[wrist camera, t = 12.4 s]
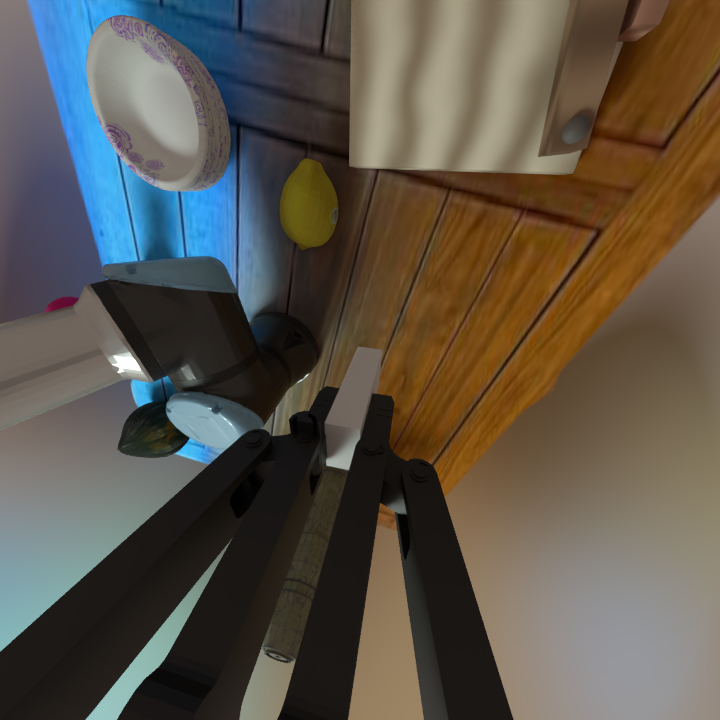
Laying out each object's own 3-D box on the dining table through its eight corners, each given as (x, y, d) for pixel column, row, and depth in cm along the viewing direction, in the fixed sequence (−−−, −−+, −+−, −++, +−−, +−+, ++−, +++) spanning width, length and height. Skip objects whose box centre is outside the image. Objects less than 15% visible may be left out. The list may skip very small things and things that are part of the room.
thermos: (353, 488, 75) (307, 674, 46) (313, 474, 75) (244, 650, 46) (361, 470, 70) (316, 666, 41) (318, 456, 70) (244, 639, 41)
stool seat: (353, 167, 36) (343, 163, 31) (357, -23, 27) (344, -67, 23) (572, 174, 32) (597, 171, 27) (657, -47, 23) (714, -106, 19)
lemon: (331, 255, 43) (314, 266, 36) (287, 232, 42) (261, 239, 36) (357, 180, 37) (342, 177, 30) (306, 153, 36) (279, 143, 30)
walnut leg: (568, 153, 29) (590, 147, 25) (537, 157, 30) (554, 151, 26) (630, -91, 21) (676, -155, 17) (586, -79, 22) (621, -138, 18)
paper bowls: (143, 157, 41) (88, 149, 34) (145, 18, 32) (73, -27, 26) (233, 211, 42) (197, 214, 36) (257, 92, 34) (217, 67, 27)
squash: (202, 454, 72) (140, 464, 58) (164, 453, 77) (99, 463, 63) (206, 401, 74) (148, 399, 61) (169, 403, 79) (108, 402, 66)
